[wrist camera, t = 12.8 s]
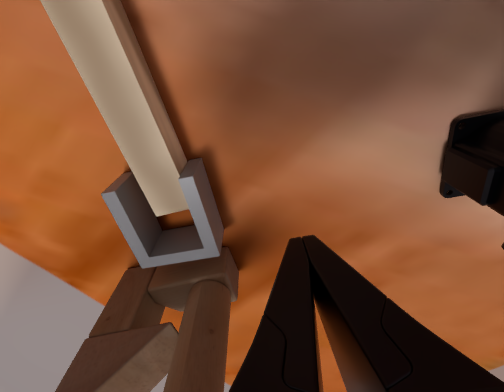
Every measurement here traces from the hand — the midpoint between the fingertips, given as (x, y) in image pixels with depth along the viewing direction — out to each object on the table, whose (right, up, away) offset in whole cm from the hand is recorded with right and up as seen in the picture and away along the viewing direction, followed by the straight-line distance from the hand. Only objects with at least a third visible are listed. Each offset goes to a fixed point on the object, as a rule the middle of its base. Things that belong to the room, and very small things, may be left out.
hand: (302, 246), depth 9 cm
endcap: (-8, +2, +13) cm, 15 cm away
